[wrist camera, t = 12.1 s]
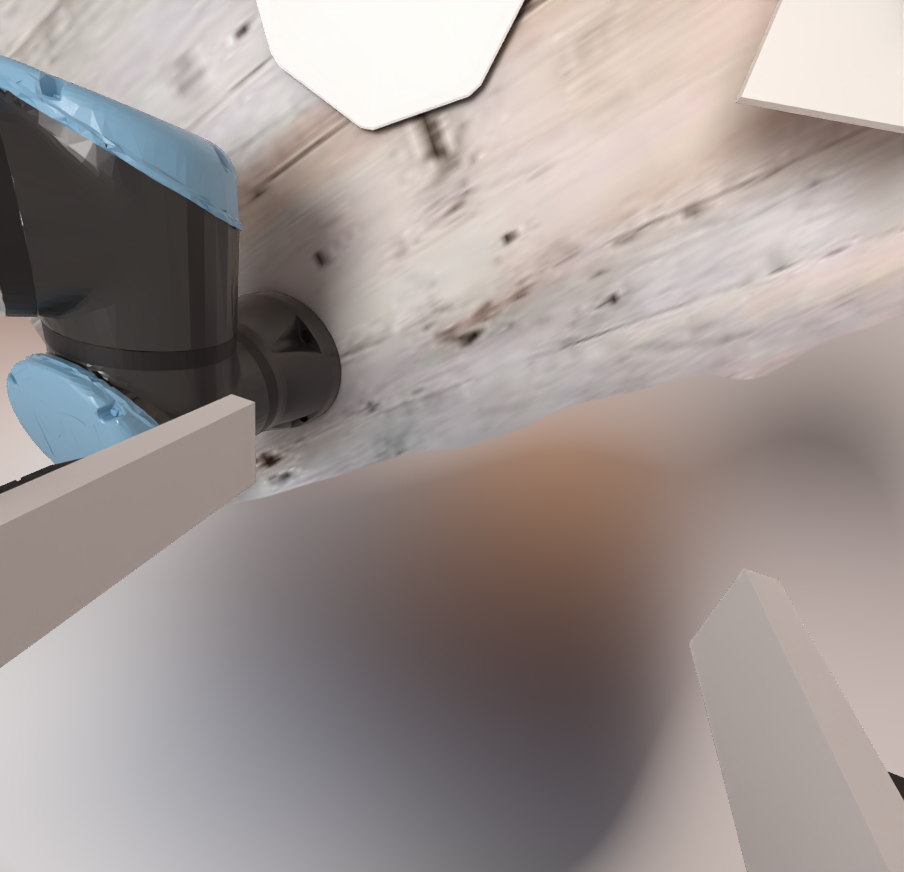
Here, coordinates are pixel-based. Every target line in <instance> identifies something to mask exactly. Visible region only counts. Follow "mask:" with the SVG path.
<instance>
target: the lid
mask: <svg viewBox="0 0 904 872" xmlns="http://www.w3.org/2000/svg"><path fill="white" fill-rule="evenodd" d="M735 103H740V104H746V105H751V106H757V107H762V108H767V109H773V110H778V111H784V112H789V113H794V114H800V115H805V116H811V117H816V118H821V119H827V120H832V121H838V122H843V123H848V124H854V125H859V126H865V127H870V128H876V129H881V130H886V131H892V132H897V133H903V134H904V0H779V1H778V3H777V5H776V8H775V10H774V12H773V15H772V17H771V19H770V22H769V24H768V27H767V29H766V31H765V34H764V36H763V38H762V41H761V43H760V45H759V48H758V50H757V52H756V55H755V57H754V59H753V62H752V64H751V66H750V69H749V71H748V74H747V76H746V78H745V81H744V83H743V85H742V88H741V90H740V92H739V95H738V97H737V99H736V102H735Z"/></svg>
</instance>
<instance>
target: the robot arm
mask: <svg viewBox="0 0 904 872" xmlns="http://www.w3.org/2000/svg"><path fill="white" fill-rule="evenodd" d="M239 230H240V231H242V224H241V222H240V221H239V211H238V188H237V175H236V171H235V168H234V166H233V164H232V162H231V160H230V159H229V157H228V156H227V155H226V154H225V153H224V152H223V151H222V150H221V149H220V148H219V147H218V146H216V145H215V144H213V143H212V142H210V141H208V140H206V139H203V138H201V137H199V136H197V135H195V134H193V133H190V132H188V131H186V130H184V129H181V128H179V127H177V126H174V125H172V124H170V123H168V122H165V121H163V120H160V119H158V118H156V117H153V116H151V115H149V114H146V113H144V112H142V111H139V110H137V109H134V108H132V107H130V106H127V105H125V104H122V103H120V102H117V101H115V100H113V99H110V98H108V97H105V96H103V95H100V94H98V93H96V92H93V91H91V90H88V89H86V88H83V87H80V86H78V85H75V84H73V83H69V82H67V81H65V80H63V79H60V78H58V77H55V76H52V75H50V74H47V73H45V72H42V71H39V70H37V69H35V68H33V67H31V66H28V65H26V64H23V63H21V62H18V61H16V60H13V59H10V58H8V57H5V56H2V55H0V316H16V317H40V318H41V322H42V327H43V331H44V336H45V342H46V347H47V352H46V354H42V353H40V354H32V355H30V356H27V357H26V358H25V360H23V361H20V362H19V363H16V364H15V365H14V366H13V368H12V370H11V373H10V374H9V375H8V378H7V392H8V397H9V400H10V403H11V405H12V408H13V410H14V412H15V414H16V416H17V417H18V419H19V421H20V423H21V425H22V426H23V428H24V429H25V431H26V432H27V433H28V435H29V436H30V437H31V439H32V440H33V441H34V442H35V444H36V445H37V446H38V447H39V448H40V449H41V451H42V452H43V453H44V454H45V455H46V456H47V457H48V458H50V459H51V460H52V461H53V462H54V463H55V465H50V466H48V467H46V468H43V469H41V470H39V471H36V472H34V473H31V474H29V475H26V476H24V477H22V478H21V480H20V481H16V480H14V481H12V482H10V483H7V484H5V485H2V486H0V668H1V667H2V666H3V665H5V664H6V663H8V662H9V661H10V660H12V659H13V658H14V657H16V656H17V655H19V654H20V653H21V652H23V651H24V650H25V649H27V648H28V647H30V646H31V645H32V644H34V643H35V642H37V641H38V640H39V639H41V638H42V637H43V636H45V635H46V634H48V633H49V632H50V631H52V630H53V629H54V628H56V627H57V626H59V625H60V624H61V623H63V622H64V621H65V620H67V619H68V618H69V617H71V616H72V615H73V614H75V613H76V612H78V611H79V610H80V609H82V608H83V607H85V606H86V605H87V604H89V603H90V602H91V601H93V600H94V599H96V598H97V597H98V596H100V595H101V594H102V593H104V592H105V591H107V590H108V589H109V588H111V587H112V586H113V585H115V584H116V583H118V582H119V581H120V580H122V579H123V578H124V577H126V576H127V575H129V574H130V573H131V572H133V571H134V570H135V569H137V568H138V567H140V566H141V565H142V564H144V563H145V562H146V561H148V560H149V559H151V558H152V557H153V556H155V555H156V554H157V553H159V552H160V551H162V550H163V549H164V548H166V547H167V546H168V545H170V544H171V543H173V542H174V541H175V540H177V539H178V538H179V537H181V536H182V535H184V534H185V533H186V532H188V531H189V530H190V529H192V528H193V527H194V526H196V525H197V524H198V523H200V522H201V521H203V520H204V519H206V518H207V517H208V516H209V515H211V514H212V513H214V512H215V511H217V510H218V509H219V508H221V507H222V506H223V505H225V504H226V503H228V502H229V501H230V500H232V499H233V498H234V497H236V496H237V495H239V494H240V493H241V492H243V491H244V490H245V489H247V488H248V487H250V486H251V485H252V484H254V483H255V482H256V445H255V436H256V435H257V434H259V433H261V432H263V431H269V430H277V429H285V428H293V427H298V426H301V425H304V424H306V423H309V422H310V421H312V420H314V419H315V418H317V417H318V416H320V415H321V414H323V413H324V412H325V411H326V410H327V409H328V408H329V407H330V406H331V404H332V403H333V401H334V399H335V397H336V395H337V392H338V389H339V385H340V362H339V357H338V353H337V349H336V347H335V344H334V342H333V339H332V337H331V335H330V333H329V332H328V330H327V328H326V327H325V325H324V324H323V323H322V321H321V320H320V319H319V318H318V317H317V316H316V315H315V313H314V312H312V311H311V310H310V309H309V308H308V307H307V306H305V305H304V304H303V303H301V302H300V301H298V300H296V299H294V298H292V297H290V296H288V295H285V294H281V293H277V292H259V293H253V294H247V295H243V296H240V297H238V262H239ZM689 646H690V650H691V654H692V658H693V662H694V666H695V670H696V674H697V678H698V682H699V685H700V689H701V693H702V697H703V701H704V705H705V709H706V713H707V717H708V721H709V725H710V728H711V733H712V737H713V740H714V745H715V748H716V752H717V756H718V760H719V764H720V768H721V772H722V776H723V780H724V784H725V788H726V792H727V795H728V800H729V803H730V807H731V811H732V815H733V819H734V823H735V827H736V831H737V835H738V839H739V843H740V847H741V851H742V855H743V858H744V863H745V867H746V870H747V872H904V778H903V777H900V776H898V775H895V774H893V773H890V772H887V770H886V768H885V767H884V765H883V763H882V761H881V760H880V758H879V756H878V754H877V753H876V751H875V749H874V747H873V745H872V744H871V742H870V740H869V738H868V737H867V735H866V733H865V731H864V730H863V728H862V726H861V724H860V722H859V721H858V719H857V717H856V715H855V714H854V712H853V710H852V709H851V707H850V705H849V703H848V701H847V700H846V698H845V696H844V694H843V693H842V691H841V689H840V687H839V685H838V684H837V682H836V680H835V678H834V677H833V675H832V673H831V671H830V670H829V668H828V666H827V664H826V663H825V661H824V659H823V657H822V656H821V654H820V652H819V650H818V649H817V647H816V645H815V643H814V641H813V640H812V638H811V636H810V634H809V633H808V631H807V629H806V627H805V625H804V624H803V622H802V620H801V618H800V617H799V615H798V613H797V611H796V610H795V608H794V606H793V604H792V603H791V601H790V599H789V597H788V596H787V594H786V592H785V590H784V588H783V587H782V585H781V583H780V582H779V580H777V579H774V578H771V577H769V576H765V575H763V574H760V573H757V572H754V571H751V570H748V569H745V568H744V569H743V570H742V571H741V573H740V574H739V575H738V577H737V578H736V579H735V581H734V582H733V584H732V585H731V586H730V588H729V589H728V590H727V592H726V593H725V594H724V596H723V597H722V599H721V600H720V601H719V603H718V604H717V605H716V607H715V608H714V610H713V611H712V612H711V614H710V615H709V617H708V618H707V619H706V621H705V622H704V623H703V625H702V626H701V628H700V629H699V630H698V632H697V633H696V634H695V636H694V637H693V638H692V640H691V641H690V643H689Z"/></svg>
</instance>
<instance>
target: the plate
mask: <svg viewBox="0 0 904 872" xmlns="http://www.w3.org/2000/svg"><path fill="white" fill-rule="evenodd" d="M256 2H257V6H258V10H259V13H260V17H261V20H262V24H263V27H264V31H265V34H266V38H267V42H268V45H269V49H270V52H271V54H272V56H273V58H274V59H275V61H276V62H277V64H278V65H279V67H281V68H282V69H283V70H284V71H286V72H287V73H288V74H290V75H291V76H292V77H294V78H295V79H296V80H298V81H299V82H300V83H302V84H303V85H304V86H306V87H307V88H308V89H310V90H311V91H312V92H314V93H315V94H316V95H318V96H319V97H320V98H322V99H323V100H324V101H325V102H327V103H328V104H329V105H331V106H332V107H333V108H335V109H336V110H337V111H339V112H340V113H341V114H343V115H344V116H345V117H347V118H348V119H349V120H351V121H352V122H353V123H355V124H356V125H357V126H359V127H360V128H362V129H368V130H373V131H374V130H377V129H380V128H382V127H385V126H388V125H391V124H394V123H397V122H400V121H402V120H405V119H408V118H411V117H414V116H417V115H420V114H422V113H425V112H428V111H431V110H434V109H437V108H439V107H442V106H445V105H448V104H451V103H454V102H457V101H459V100H462V99H465V98H468V97H470V96H471V95H472V94H473V93H474V92H475V91H476V90H478V89H479V88H480V87H481V86H482V84H483V82H484V80H485V78H486V76H487V74H488V72H489V70H490V68H491V66H492V64H493V62H494V60H495V58H496V56H497V55H498V53H499V51H500V49H501V47H502V45H503V43H504V41H505V39H506V37H507V35H508V33H509V31H510V29H511V27H512V25H513V23H514V21H515V19H516V17H517V15H518V13H519V12H520V10H521V8H522V6H523V4H524V2H525V0H256Z"/></svg>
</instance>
